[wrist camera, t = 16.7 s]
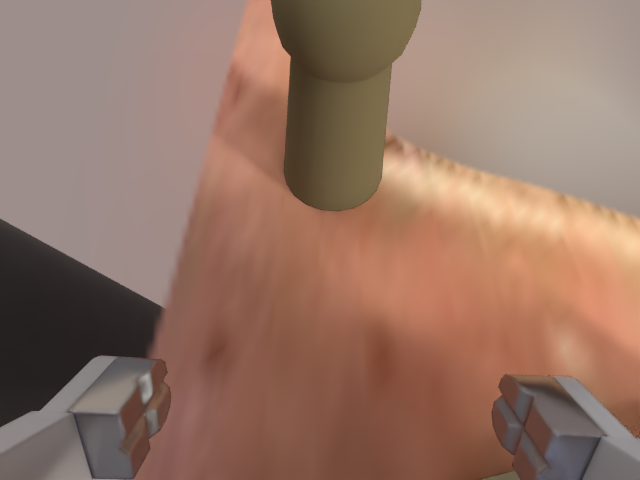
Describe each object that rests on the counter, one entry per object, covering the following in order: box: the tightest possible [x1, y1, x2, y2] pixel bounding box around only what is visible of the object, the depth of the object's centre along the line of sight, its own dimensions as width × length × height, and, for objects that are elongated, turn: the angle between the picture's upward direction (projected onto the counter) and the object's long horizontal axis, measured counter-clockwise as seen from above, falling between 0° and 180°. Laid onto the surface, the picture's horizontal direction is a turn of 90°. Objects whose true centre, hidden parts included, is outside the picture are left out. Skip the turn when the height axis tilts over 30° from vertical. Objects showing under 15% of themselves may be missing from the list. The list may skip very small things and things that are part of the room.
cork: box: [271, 0, 421, 211], centre depth 15 cm, size 6×6×11 cm
